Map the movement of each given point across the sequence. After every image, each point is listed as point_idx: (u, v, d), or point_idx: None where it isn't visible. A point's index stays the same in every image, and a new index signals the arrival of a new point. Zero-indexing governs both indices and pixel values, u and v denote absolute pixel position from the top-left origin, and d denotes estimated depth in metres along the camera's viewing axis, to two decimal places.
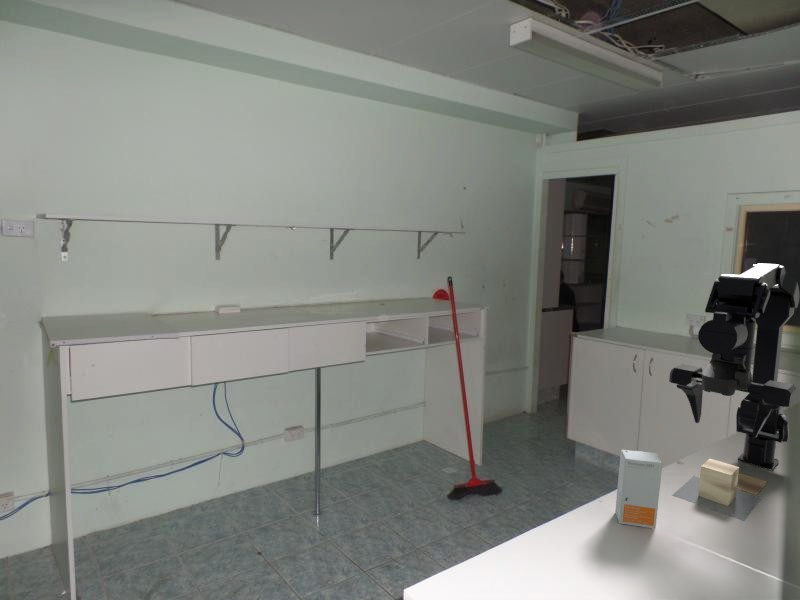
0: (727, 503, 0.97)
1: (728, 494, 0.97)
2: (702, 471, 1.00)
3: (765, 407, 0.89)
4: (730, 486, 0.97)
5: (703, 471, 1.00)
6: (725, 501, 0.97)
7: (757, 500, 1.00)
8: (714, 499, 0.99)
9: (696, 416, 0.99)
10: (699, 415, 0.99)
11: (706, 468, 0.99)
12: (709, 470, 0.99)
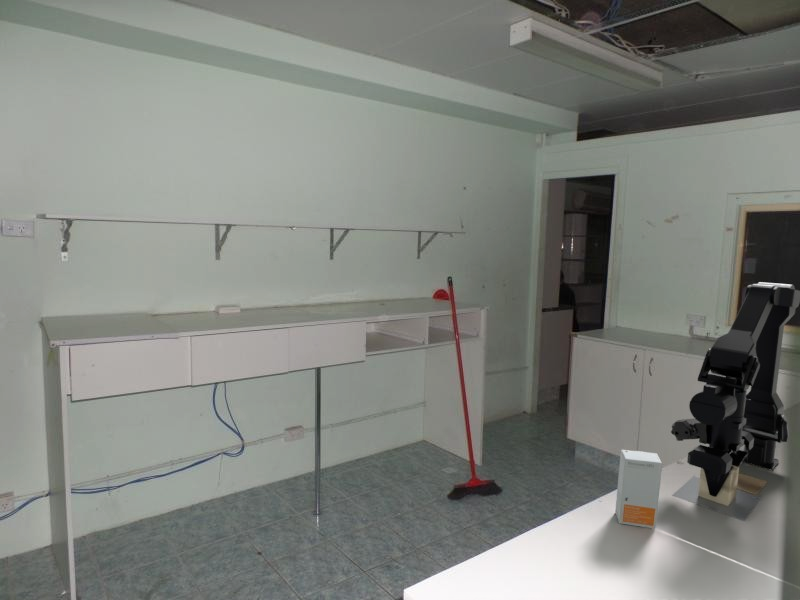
0: (727, 503, 0.97)
1: (728, 494, 0.97)
2: (702, 471, 1.00)
3: None
4: (730, 486, 0.97)
5: (703, 471, 1.00)
6: (725, 501, 0.97)
7: (757, 500, 1.00)
8: (714, 499, 0.99)
9: None
10: None
11: None
12: None
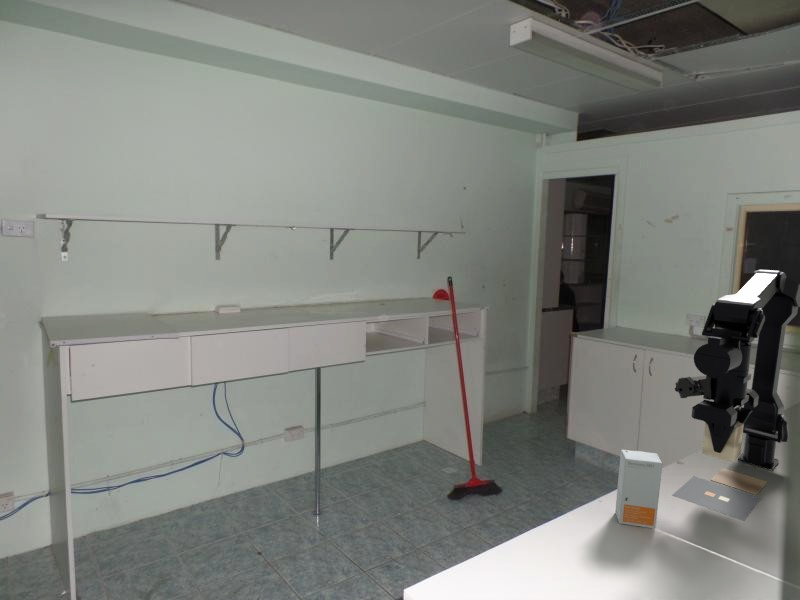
0: (732, 459, 0.96)
1: (733, 450, 0.96)
2: (706, 428, 0.99)
3: None
4: (735, 442, 0.96)
5: (707, 428, 0.99)
6: (730, 457, 0.96)
7: (757, 500, 1.00)
8: (718, 456, 0.98)
9: None
10: None
11: None
12: None
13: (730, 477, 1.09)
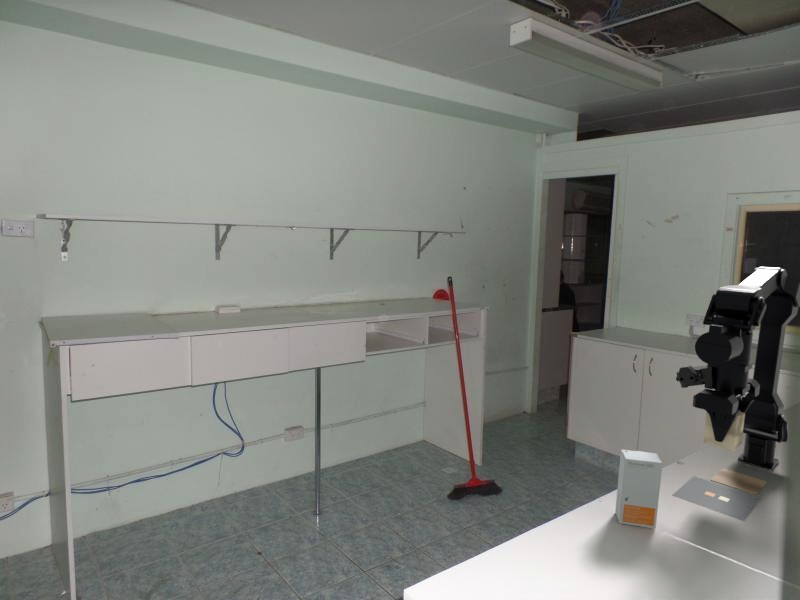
0: (733, 448, 0.96)
1: (734, 439, 0.96)
2: (707, 417, 0.99)
3: None
4: (736, 431, 0.96)
5: (708, 417, 0.98)
6: (731, 446, 0.96)
7: (757, 500, 1.00)
8: (720, 445, 0.97)
9: None
10: None
11: None
12: None
13: (730, 477, 1.09)
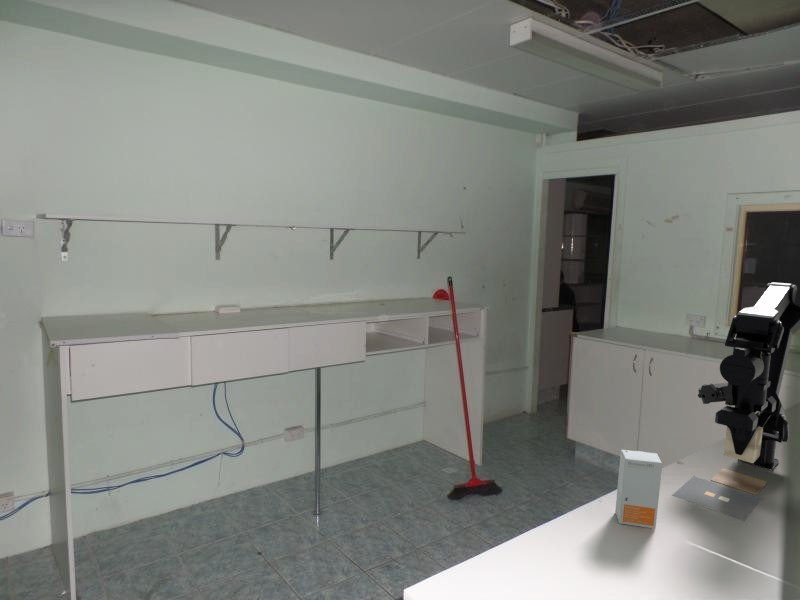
0: (752, 460, 1.03)
1: (753, 452, 1.03)
2: (728, 431, 1.06)
3: None
4: (755, 444, 1.03)
5: (729, 431, 1.06)
6: (750, 459, 1.03)
7: (757, 500, 1.00)
8: (740, 457, 1.05)
9: None
10: None
11: None
12: None
13: (730, 477, 1.09)
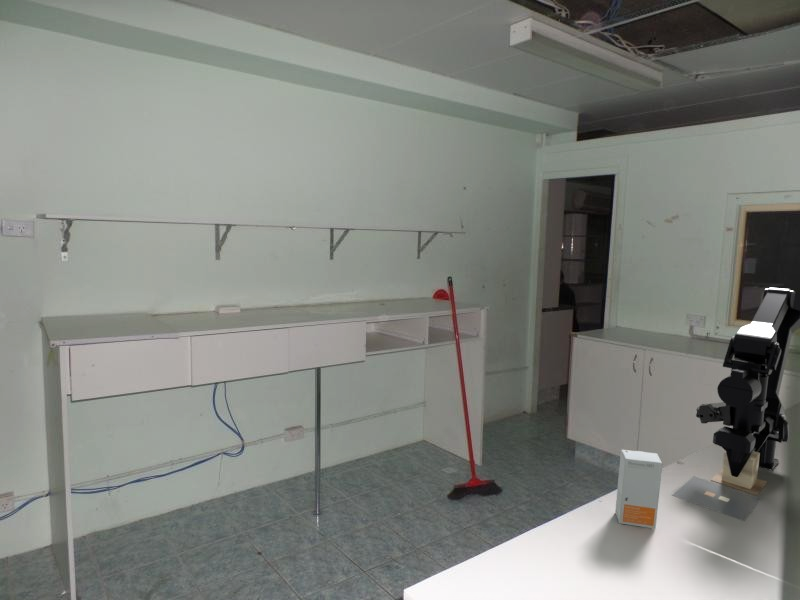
0: (749, 486, 1.04)
1: (750, 478, 1.04)
2: (725, 457, 1.06)
3: None
4: (752, 470, 1.04)
5: (726, 457, 1.06)
6: (748, 485, 1.04)
7: (757, 500, 1.00)
8: (737, 483, 1.05)
9: None
10: None
11: None
12: None
13: None
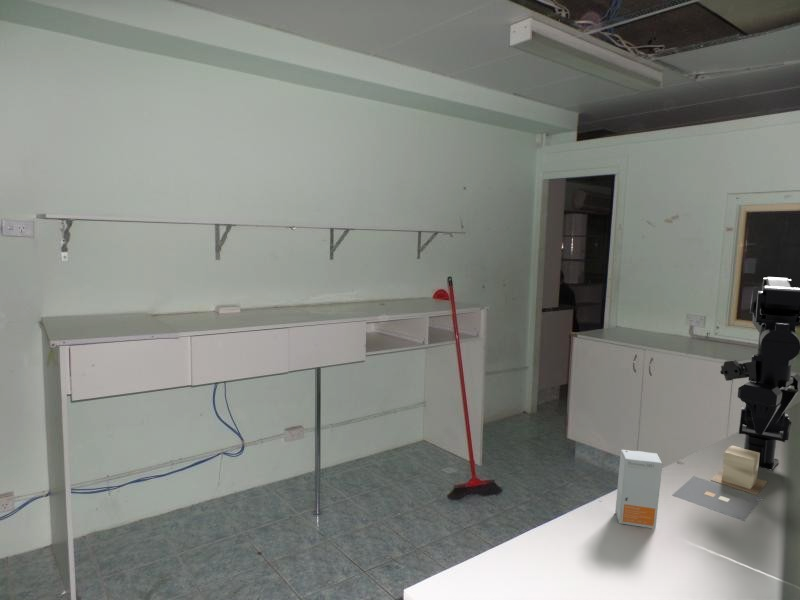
0: (749, 486, 1.04)
1: (750, 478, 1.04)
2: (725, 457, 1.06)
3: None
4: (752, 470, 1.04)
5: (726, 457, 1.06)
6: (748, 485, 1.04)
7: (757, 500, 1.00)
8: (737, 483, 1.05)
9: None
10: (774, 416, 1.07)
11: (729, 454, 1.06)
12: (732, 456, 1.06)
13: None
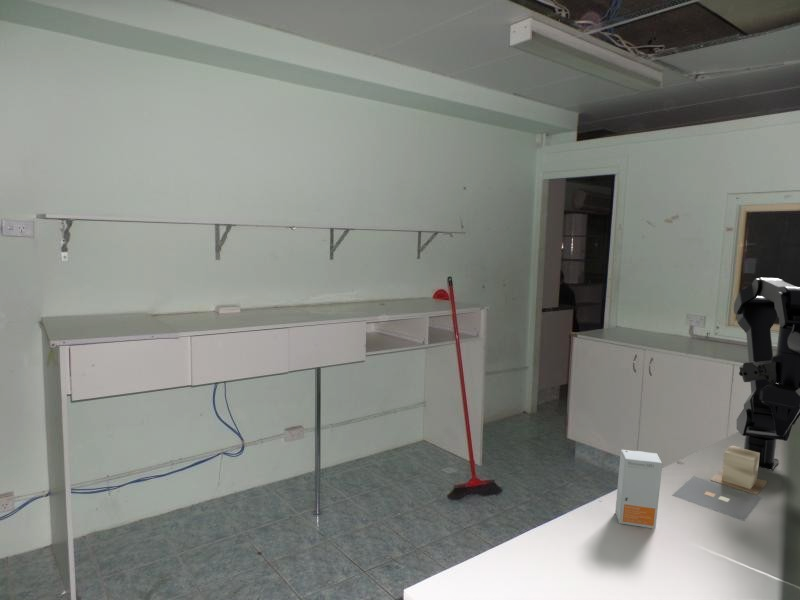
0: (749, 486, 1.04)
1: (750, 478, 1.04)
2: (725, 457, 1.06)
3: None
4: (752, 470, 1.04)
5: (726, 457, 1.06)
6: (748, 485, 1.04)
7: (757, 500, 1.00)
8: (737, 483, 1.05)
9: None
10: None
11: (729, 454, 1.06)
12: (732, 456, 1.06)
13: None
